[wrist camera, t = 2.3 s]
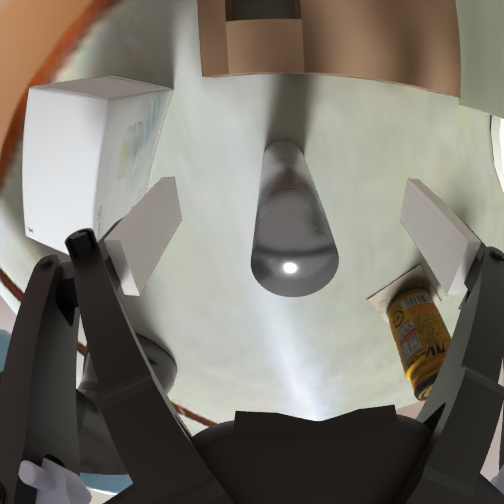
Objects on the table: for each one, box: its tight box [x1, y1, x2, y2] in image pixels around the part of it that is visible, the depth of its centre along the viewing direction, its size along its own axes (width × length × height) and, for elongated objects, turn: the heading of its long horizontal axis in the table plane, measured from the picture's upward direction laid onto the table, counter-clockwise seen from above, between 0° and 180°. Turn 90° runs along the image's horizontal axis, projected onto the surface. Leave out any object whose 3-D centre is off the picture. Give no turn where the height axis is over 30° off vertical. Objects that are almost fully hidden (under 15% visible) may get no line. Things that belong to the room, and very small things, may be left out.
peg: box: [251, 140, 339, 297], centre depth 16 cm, size 3×3×14 cm
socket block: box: [197, 0, 461, 98], centre depth 13 cm, size 18×12×4 cm, turn 93°
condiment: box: [366, 265, 452, 401], centre depth 25 cm, size 7×8×12 cm
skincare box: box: [22, 76, 173, 255], centre depth 17 cm, size 10×6×10 cm, turn 159°
